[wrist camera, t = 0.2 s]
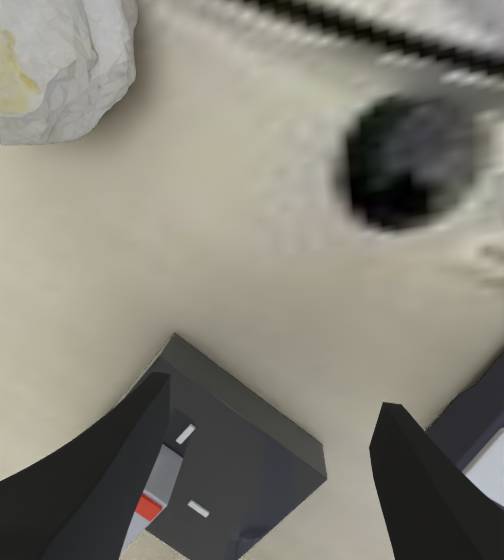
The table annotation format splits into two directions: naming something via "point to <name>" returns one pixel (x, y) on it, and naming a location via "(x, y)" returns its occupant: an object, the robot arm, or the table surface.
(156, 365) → the panel
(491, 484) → the red and grey box
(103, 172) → the table surface
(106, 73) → the fossil replica
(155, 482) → the knob
